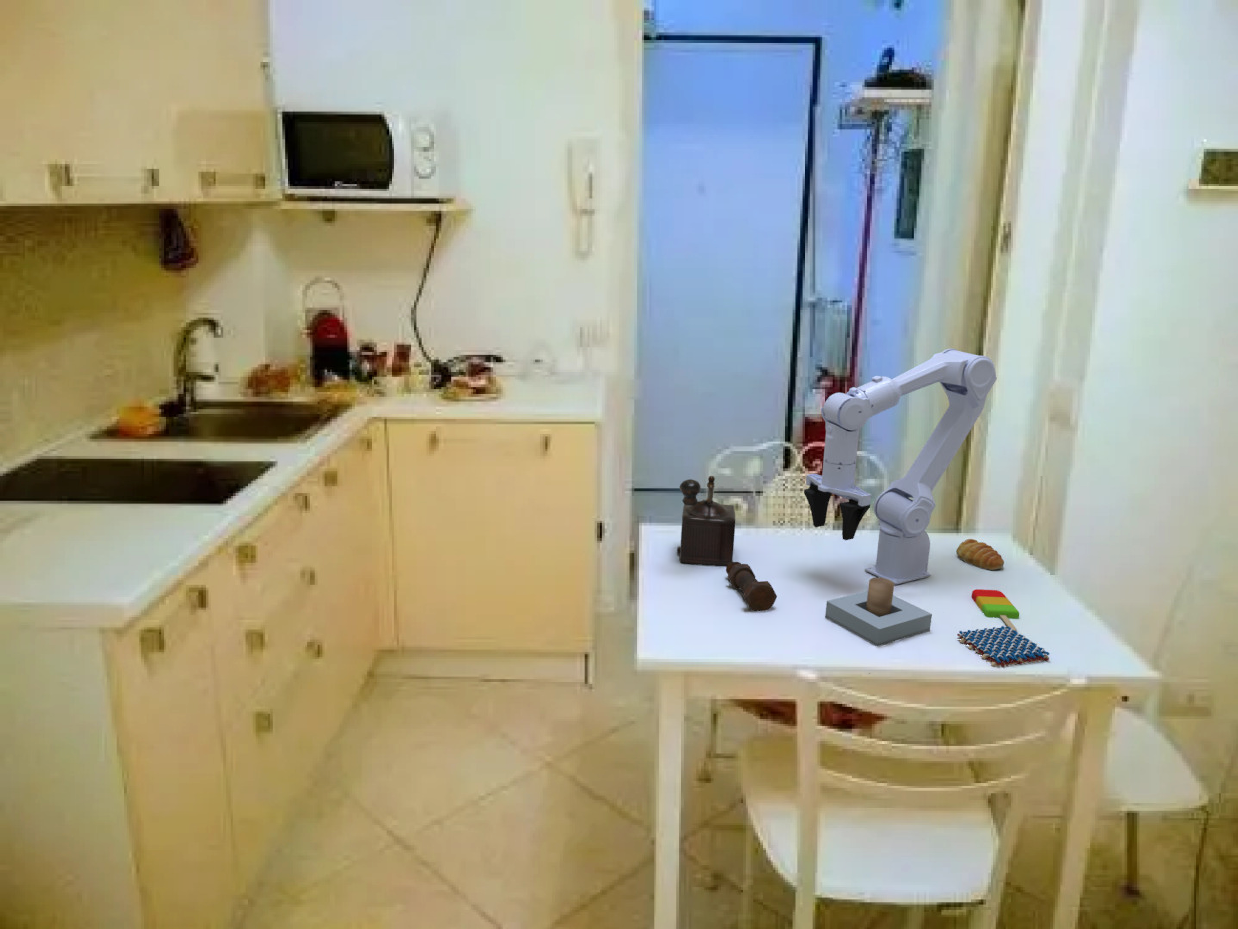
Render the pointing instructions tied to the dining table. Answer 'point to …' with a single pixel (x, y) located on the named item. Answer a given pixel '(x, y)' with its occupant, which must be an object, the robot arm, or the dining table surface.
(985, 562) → the pastry
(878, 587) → the peg
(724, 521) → the manual coffee grinder
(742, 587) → the bolt
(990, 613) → the popsicle
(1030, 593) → the dining table surface
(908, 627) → the socket block
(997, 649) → the woven mat
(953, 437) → the robot arm
